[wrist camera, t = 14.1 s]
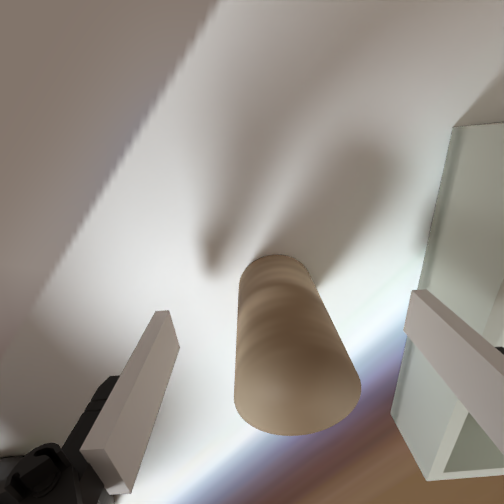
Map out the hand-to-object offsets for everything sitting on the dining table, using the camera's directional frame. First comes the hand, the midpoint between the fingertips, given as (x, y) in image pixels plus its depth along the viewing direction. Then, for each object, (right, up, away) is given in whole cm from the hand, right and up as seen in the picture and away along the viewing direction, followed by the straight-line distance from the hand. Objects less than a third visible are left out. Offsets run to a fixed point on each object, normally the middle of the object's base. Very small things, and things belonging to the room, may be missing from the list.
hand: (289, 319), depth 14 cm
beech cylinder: (0, +1, +3) cm, 4 cm away
